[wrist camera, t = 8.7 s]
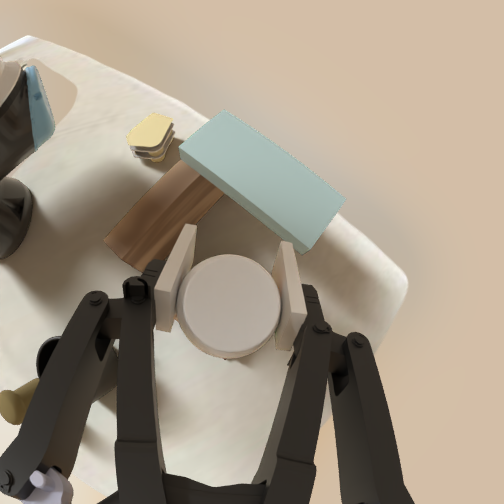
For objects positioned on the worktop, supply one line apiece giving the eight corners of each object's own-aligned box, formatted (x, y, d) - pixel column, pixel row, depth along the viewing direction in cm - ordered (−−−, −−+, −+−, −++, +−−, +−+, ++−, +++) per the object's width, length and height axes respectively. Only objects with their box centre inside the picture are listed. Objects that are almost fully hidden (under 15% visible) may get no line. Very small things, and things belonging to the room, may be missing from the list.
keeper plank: (180, 159, 28) (178, 146, 26) (222, 122, 30) (224, 109, 28) (302, 255, 27) (310, 249, 25) (336, 207, 29) (346, 199, 27)
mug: (143, 356, 34) (124, 367, 26) (97, 405, 31) (72, 423, 23) (100, 308, 35) (71, 305, 26) (58, 359, 32) (25, 366, 23)
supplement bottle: (261, 344, 20) (299, 366, 11) (189, 344, 19) (166, 369, 10) (259, 273, 21) (295, 239, 12) (188, 273, 20) (167, 237, 11)
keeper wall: (135, 263, 37) (102, 240, 25) (219, 172, 42) (222, 122, 30) (149, 276, 37) (121, 259, 25) (234, 183, 42) (242, 135, 30)
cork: (59, 392, 31) (22, 409, 20) (52, 418, 29) (17, 438, 18) (34, 371, 31) (-6, 380, 20) (27, 396, 29) (-10, 410, 18)
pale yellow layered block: (149, 122, 43) (144, 102, 38) (192, 136, 43) (190, 116, 38) (118, 165, 41) (109, 147, 35) (162, 182, 41) (155, 165, 35)
